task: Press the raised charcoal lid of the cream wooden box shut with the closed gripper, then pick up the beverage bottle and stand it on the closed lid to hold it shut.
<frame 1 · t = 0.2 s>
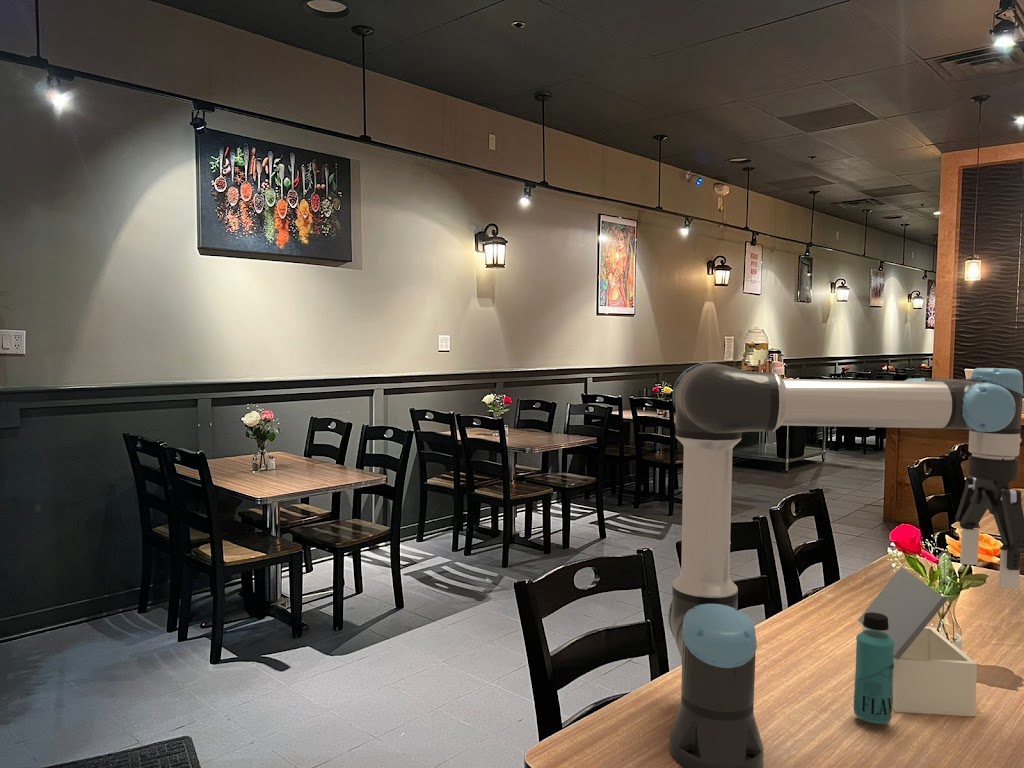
hand: (987, 575, 132), 28 cm above the table, tool pointing down, fingers open, 13 cm apart
teacup: (937, 660, 163), on the table
box: (913, 691, 147), on the table
lid: (899, 610, 147), point 16 cm above the table, hinge at 55.0°
beverage bottle: (871, 724, 135), on the table
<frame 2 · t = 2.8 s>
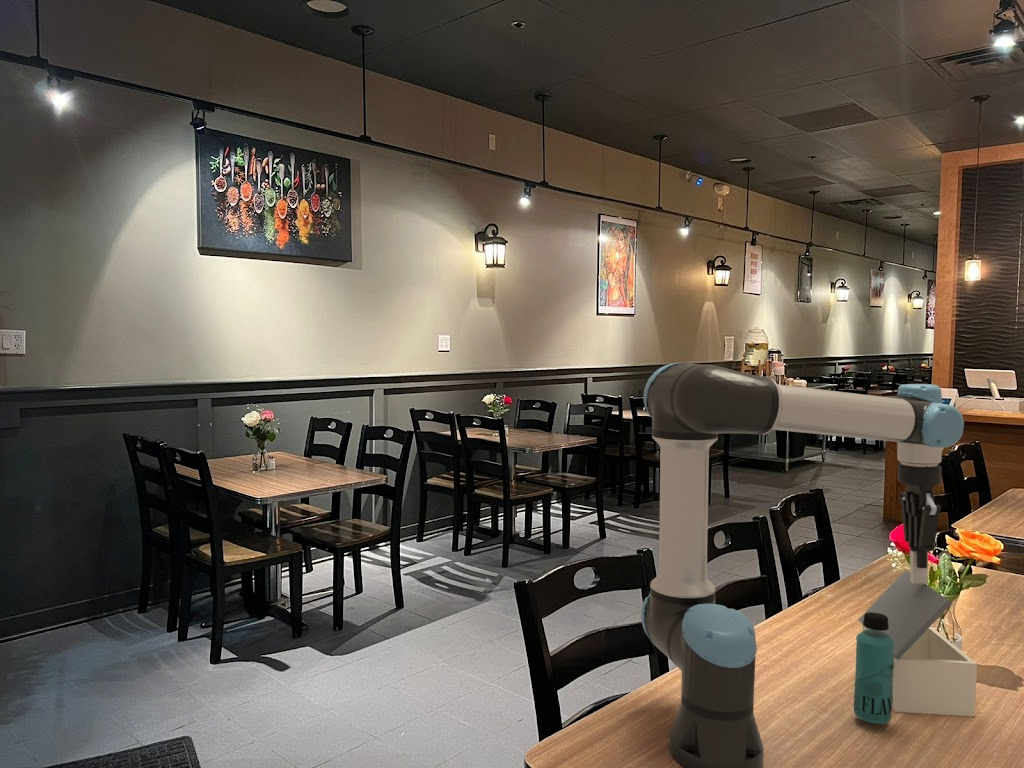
hand: (918, 582, 146), 22 cm above the table, tool pointing down, fingers closed
lid: (902, 612, 147), point 16 cm above the table, hinge at 50.7°, touching gripper
everything else where it was.
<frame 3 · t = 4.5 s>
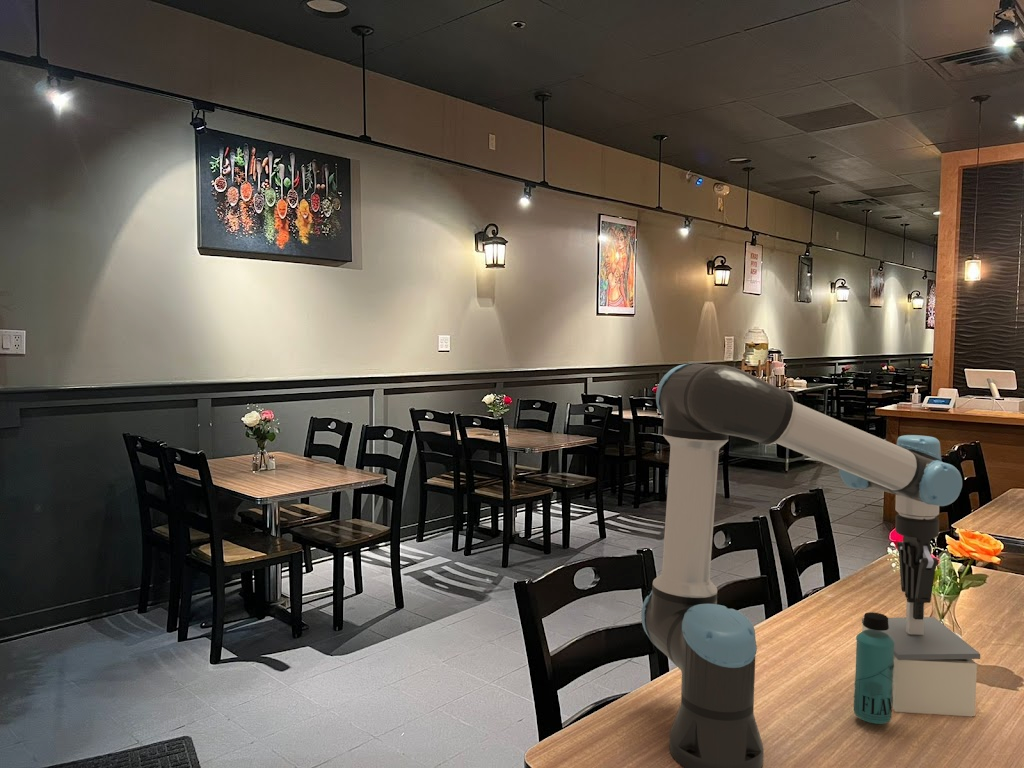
hand: (914, 632, 147), 12 cm above the table, tool pointing down, fingers closed
lid: (917, 637, 147), point 11 cm above the table, hinge at 4.0°, touching gripper
everything else where it was.
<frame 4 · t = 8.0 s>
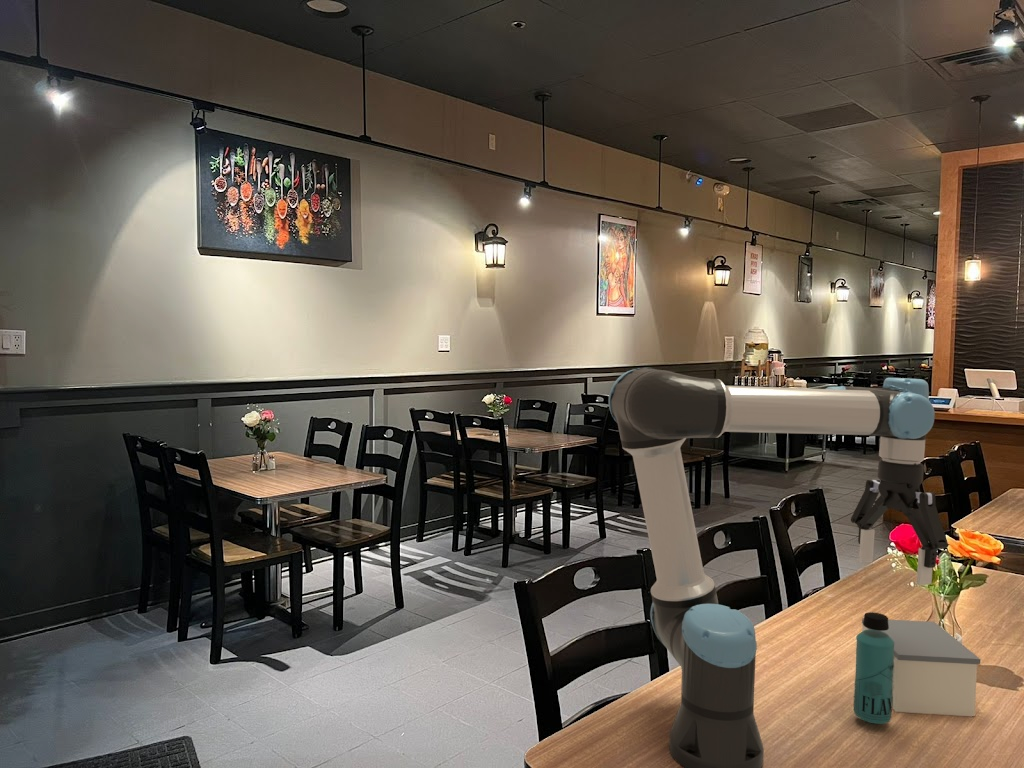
hand: (893, 572, 140), 26 cm above the table, tool pointing down, fingers open, 13 cm apart
lid: (917, 639, 147), point 11 cm above the table, hinge at -0.1°
everything else where it was.
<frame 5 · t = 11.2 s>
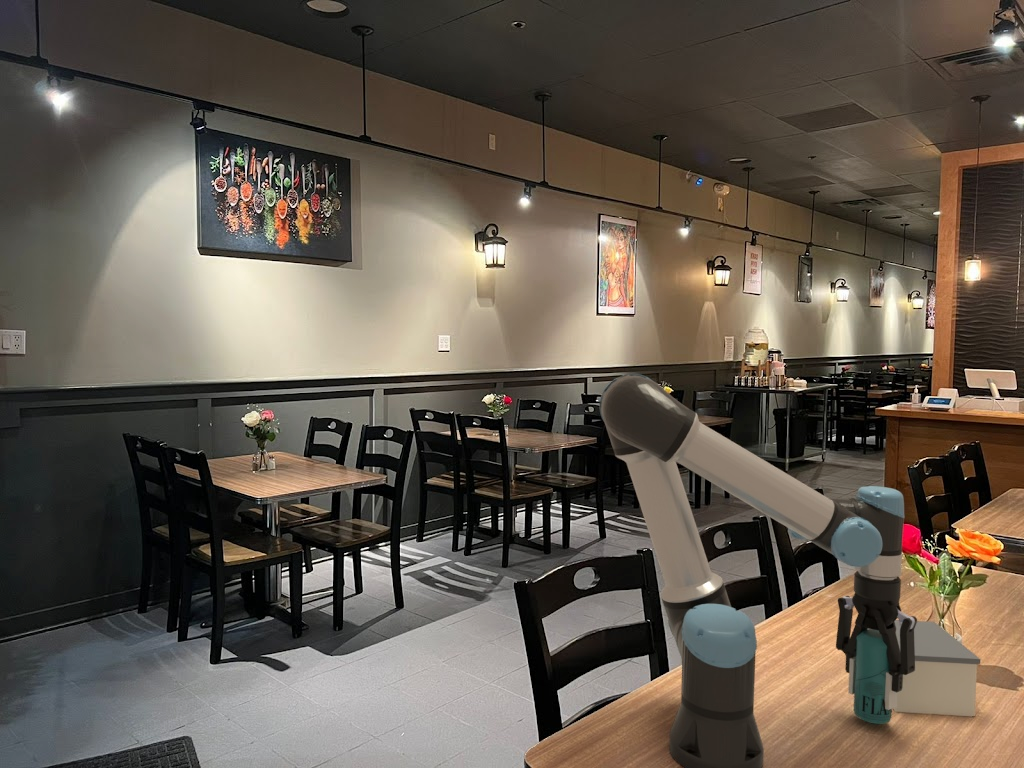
hand: (872, 699, 135), 4 cm above the table, tool pointing down, fingers closed on beverage bottle, 6 cm apart
beverage bottle: (871, 724, 135), on the table, touching gripper
everything else where it was.
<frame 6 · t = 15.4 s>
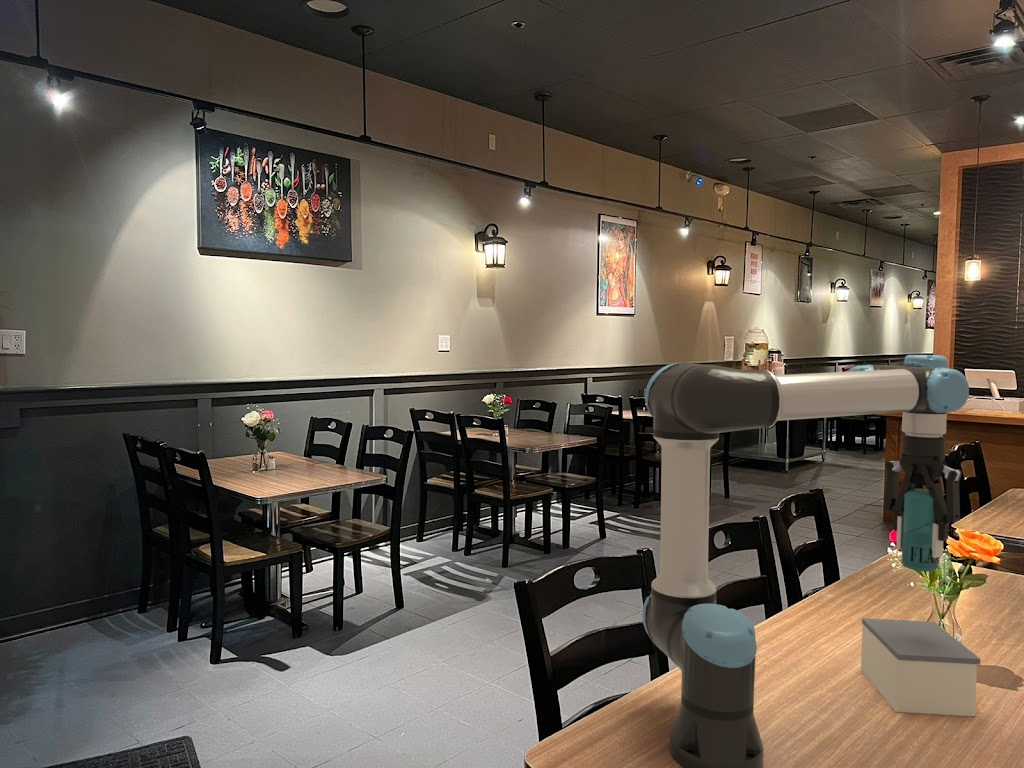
hand: (919, 552, 145), 28 cm above the table, tool pointing down, fingers closed on beverage bottle, 6 cm apart
beverage bottle: (919, 575, 146), point 24 cm above the table, touching gripper
everything else where it was.
when the fingers open (17 cm above the table, at t = 19.7 s): beverage bottle drops 1 cm, resting on lid.
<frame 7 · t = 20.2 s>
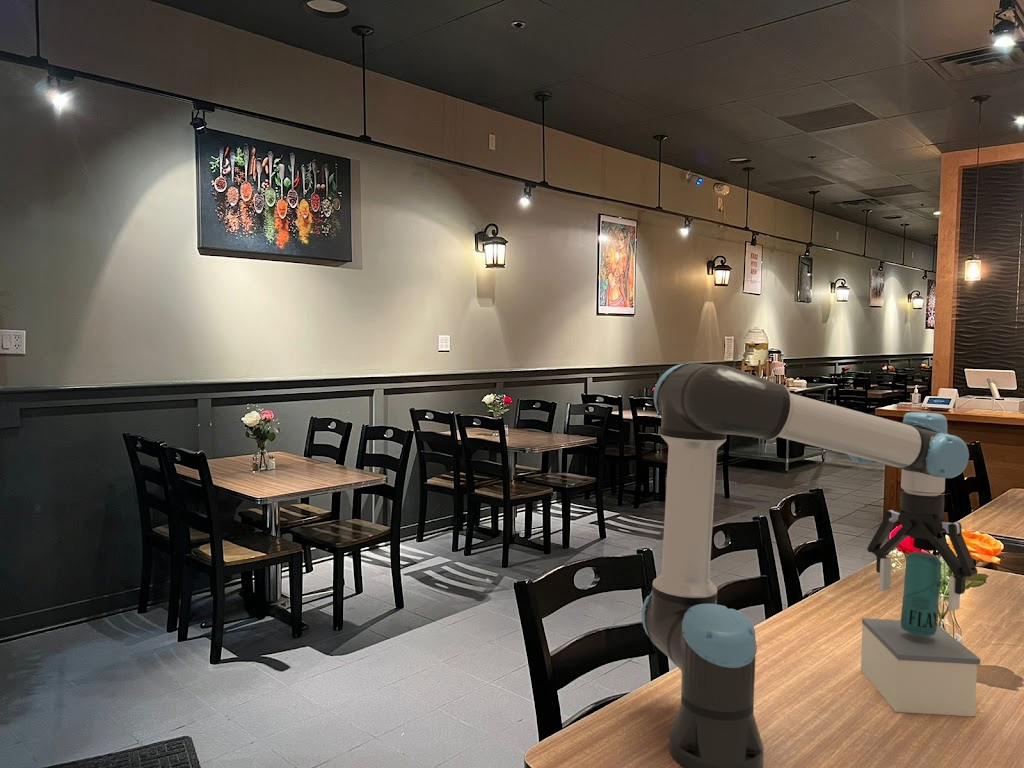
hand: (917, 599, 146), 19 cm above the table, tool pointing down, fingers open, 13 cm apart
lid: (917, 639, 147), point 11 cm above the table, hinge at -0.1°, touching beverage bottle
beverage bottle: (917, 638, 147), point 11 cm above the table, touching lid
everything else where it was.
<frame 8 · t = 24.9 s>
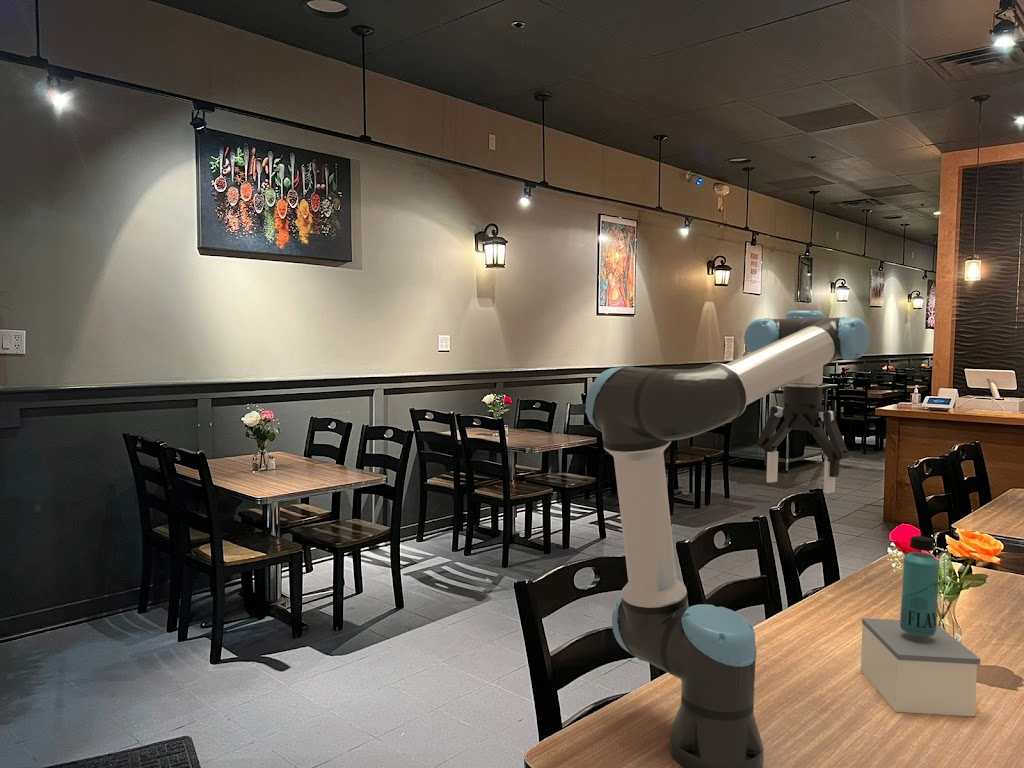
hand: (799, 487, 156), 39 cm above the table, tool pointing down, fingers open, 13 cm apart
nothing on the table moved.
at the end: lid at +0° (first picture: +55°); beverage bottle inside the target area on the box (0.3 cm from its centre), point 10.9 cm above the box's base; beverage bottle tilted 1° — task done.
